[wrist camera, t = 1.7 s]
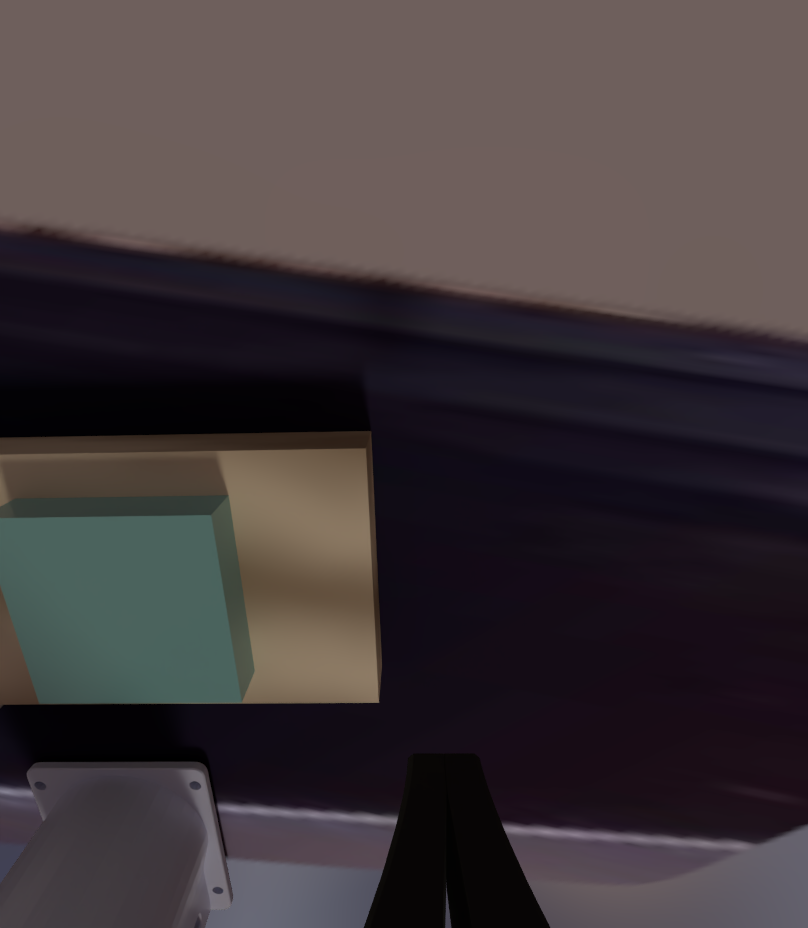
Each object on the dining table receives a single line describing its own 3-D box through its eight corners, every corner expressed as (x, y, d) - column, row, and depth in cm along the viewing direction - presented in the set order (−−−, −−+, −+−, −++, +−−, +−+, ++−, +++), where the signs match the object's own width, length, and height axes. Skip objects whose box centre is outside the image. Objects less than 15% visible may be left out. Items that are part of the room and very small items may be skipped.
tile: (254, 671, 19) (242, 702, 17) (67, 672, 19) (39, 703, 17) (228, 495, 16) (211, 515, 15) (14, 498, 17) (-23, 518, 15)
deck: (381, 665, 21) (378, 702, 19) (1, 667, 21) (-39, 704, 19) (370, 431, 18) (365, 448, 16) (-79, 439, 18) (-137, 457, 16)
